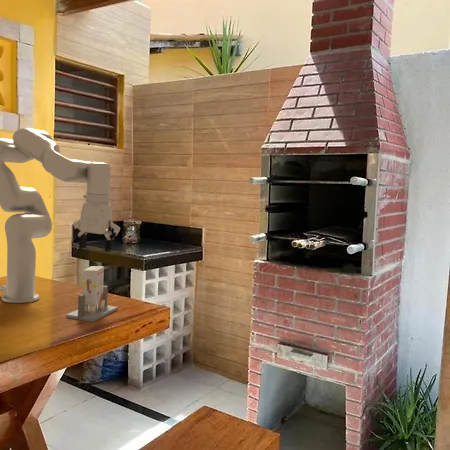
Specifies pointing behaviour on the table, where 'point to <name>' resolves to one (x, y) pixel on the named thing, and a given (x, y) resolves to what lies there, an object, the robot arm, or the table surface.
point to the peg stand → (92, 308)
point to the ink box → (93, 284)
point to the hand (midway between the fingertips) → (95, 249)
